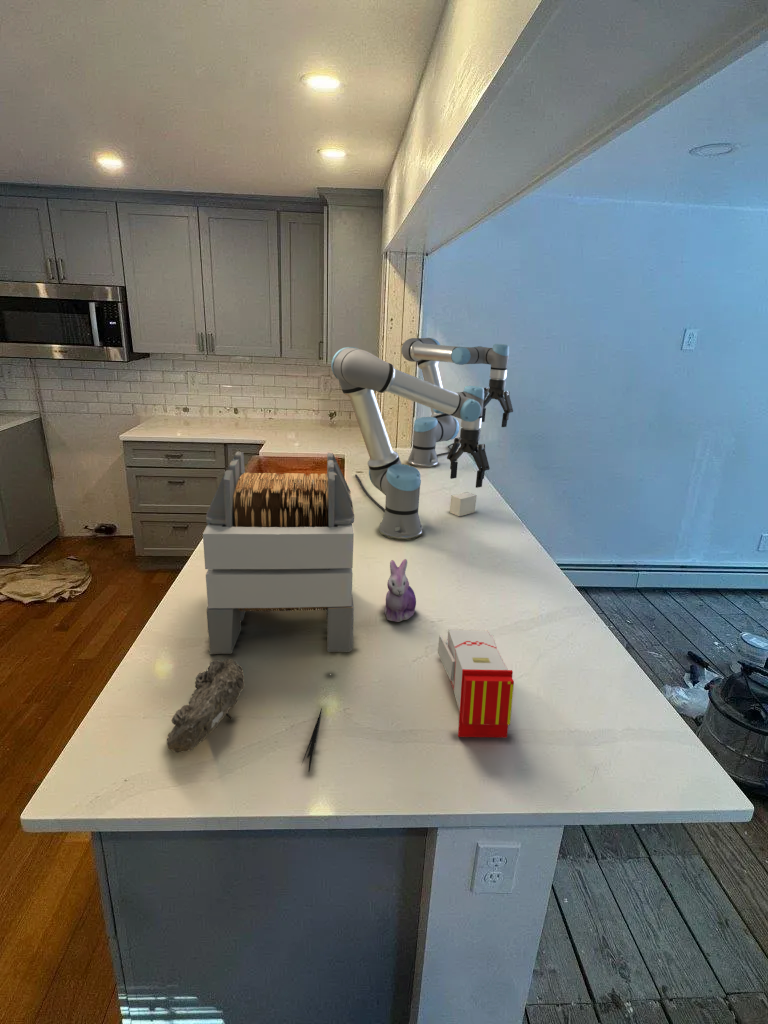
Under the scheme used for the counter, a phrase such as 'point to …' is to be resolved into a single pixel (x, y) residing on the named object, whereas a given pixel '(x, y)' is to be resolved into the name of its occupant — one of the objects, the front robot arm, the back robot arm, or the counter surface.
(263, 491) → the record crate
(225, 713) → the grey long lumpy piece
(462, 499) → the brick
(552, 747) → the counter surface
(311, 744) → the feather
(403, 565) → the figurine
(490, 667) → the toy
